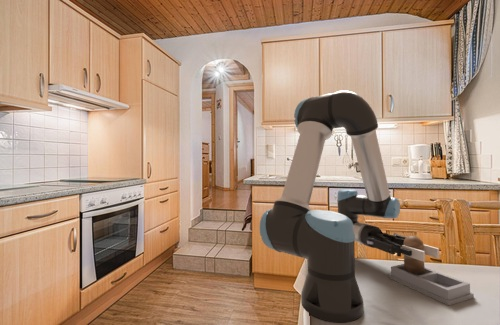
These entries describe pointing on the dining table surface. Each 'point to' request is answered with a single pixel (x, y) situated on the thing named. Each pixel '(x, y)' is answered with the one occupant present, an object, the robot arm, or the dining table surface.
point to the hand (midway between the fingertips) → (431, 254)
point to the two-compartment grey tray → (433, 284)
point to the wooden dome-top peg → (412, 263)
